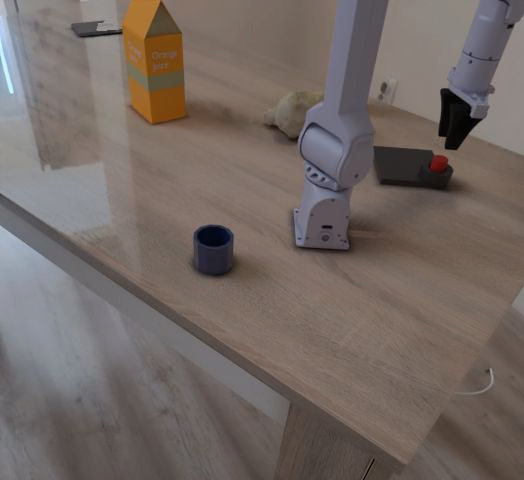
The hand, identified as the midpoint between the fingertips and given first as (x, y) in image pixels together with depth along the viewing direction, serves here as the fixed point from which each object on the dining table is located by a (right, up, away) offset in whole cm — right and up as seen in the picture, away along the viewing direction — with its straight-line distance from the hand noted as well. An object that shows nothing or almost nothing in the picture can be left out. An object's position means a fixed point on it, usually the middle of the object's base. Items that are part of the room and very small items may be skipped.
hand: (447, 142), depth 81 cm
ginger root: (-23, +9, +15) cm, 29 cm away
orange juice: (-52, +13, +15) cm, 56 cm away
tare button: (0, -3, +4) cm, 5 cm away
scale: (-5, -2, +8) cm, 9 cm away
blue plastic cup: (-38, -23, -13) cm, 47 cm away
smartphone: (-73, +48, +42) cm, 97 cm away
